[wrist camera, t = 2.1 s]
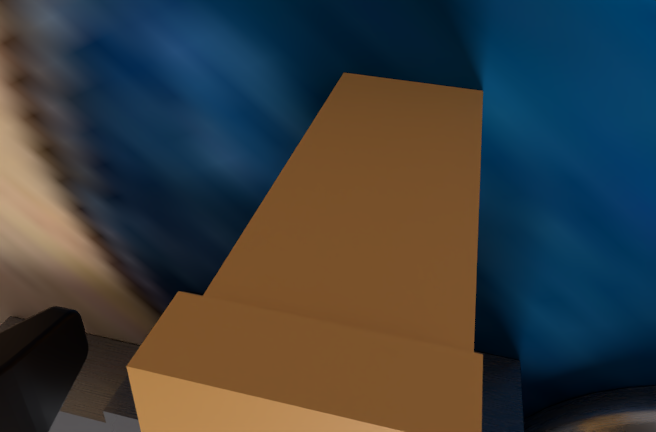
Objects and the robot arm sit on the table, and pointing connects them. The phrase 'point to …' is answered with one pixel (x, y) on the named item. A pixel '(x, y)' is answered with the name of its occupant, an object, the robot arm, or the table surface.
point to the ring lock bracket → (497, 398)
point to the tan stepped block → (340, 283)
